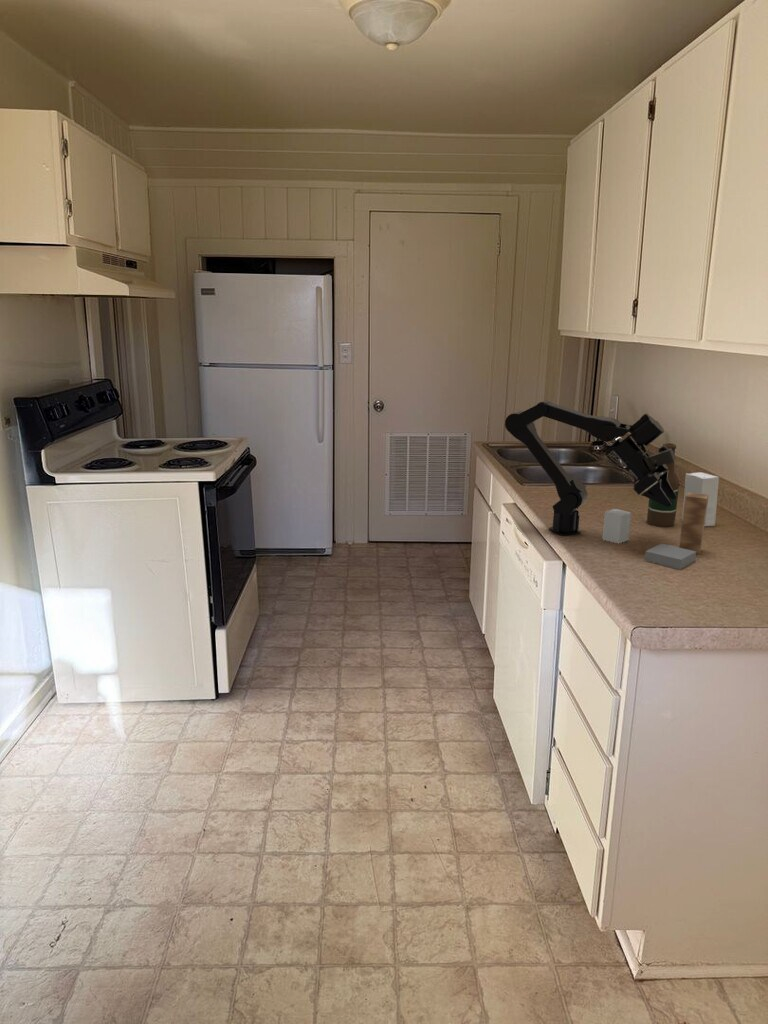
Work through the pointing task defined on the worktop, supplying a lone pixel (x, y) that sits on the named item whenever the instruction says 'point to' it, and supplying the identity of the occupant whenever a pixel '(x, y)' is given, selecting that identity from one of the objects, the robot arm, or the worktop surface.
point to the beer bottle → (661, 513)
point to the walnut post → (693, 521)
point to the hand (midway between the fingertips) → (672, 502)
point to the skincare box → (703, 492)
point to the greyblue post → (616, 526)
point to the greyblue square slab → (670, 556)
